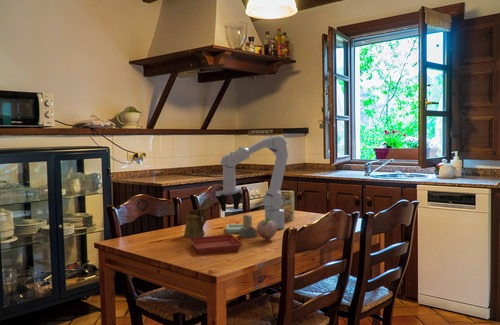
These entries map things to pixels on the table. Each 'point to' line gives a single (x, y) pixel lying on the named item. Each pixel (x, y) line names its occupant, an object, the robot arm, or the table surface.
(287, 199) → the candy box
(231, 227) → the tray
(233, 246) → the plant saucer
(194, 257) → the table surface
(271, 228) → the decorative fruit
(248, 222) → the dowel
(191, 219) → the brown wooden container
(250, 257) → the table surface
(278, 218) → the robot arm
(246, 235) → the octagonal ring
